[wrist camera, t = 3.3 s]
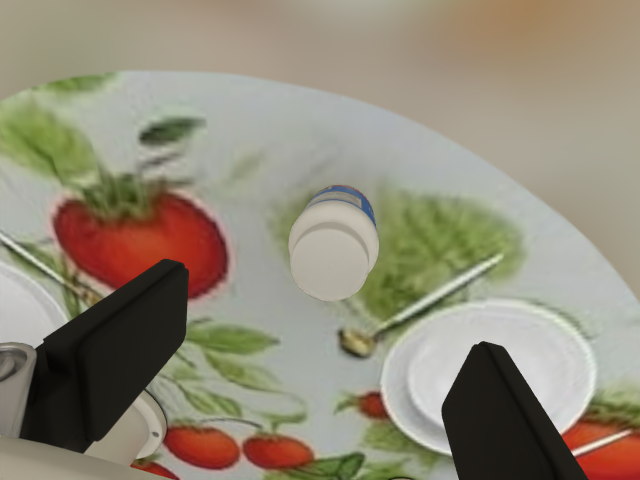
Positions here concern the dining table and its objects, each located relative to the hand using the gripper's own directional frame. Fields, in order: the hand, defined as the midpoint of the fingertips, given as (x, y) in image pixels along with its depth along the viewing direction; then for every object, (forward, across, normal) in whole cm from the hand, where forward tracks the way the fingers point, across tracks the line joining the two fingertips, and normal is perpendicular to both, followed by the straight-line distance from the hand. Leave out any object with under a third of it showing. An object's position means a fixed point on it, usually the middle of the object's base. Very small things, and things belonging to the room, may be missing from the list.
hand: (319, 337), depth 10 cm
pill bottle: (+16, 0, 0) cm, 16 cm away
